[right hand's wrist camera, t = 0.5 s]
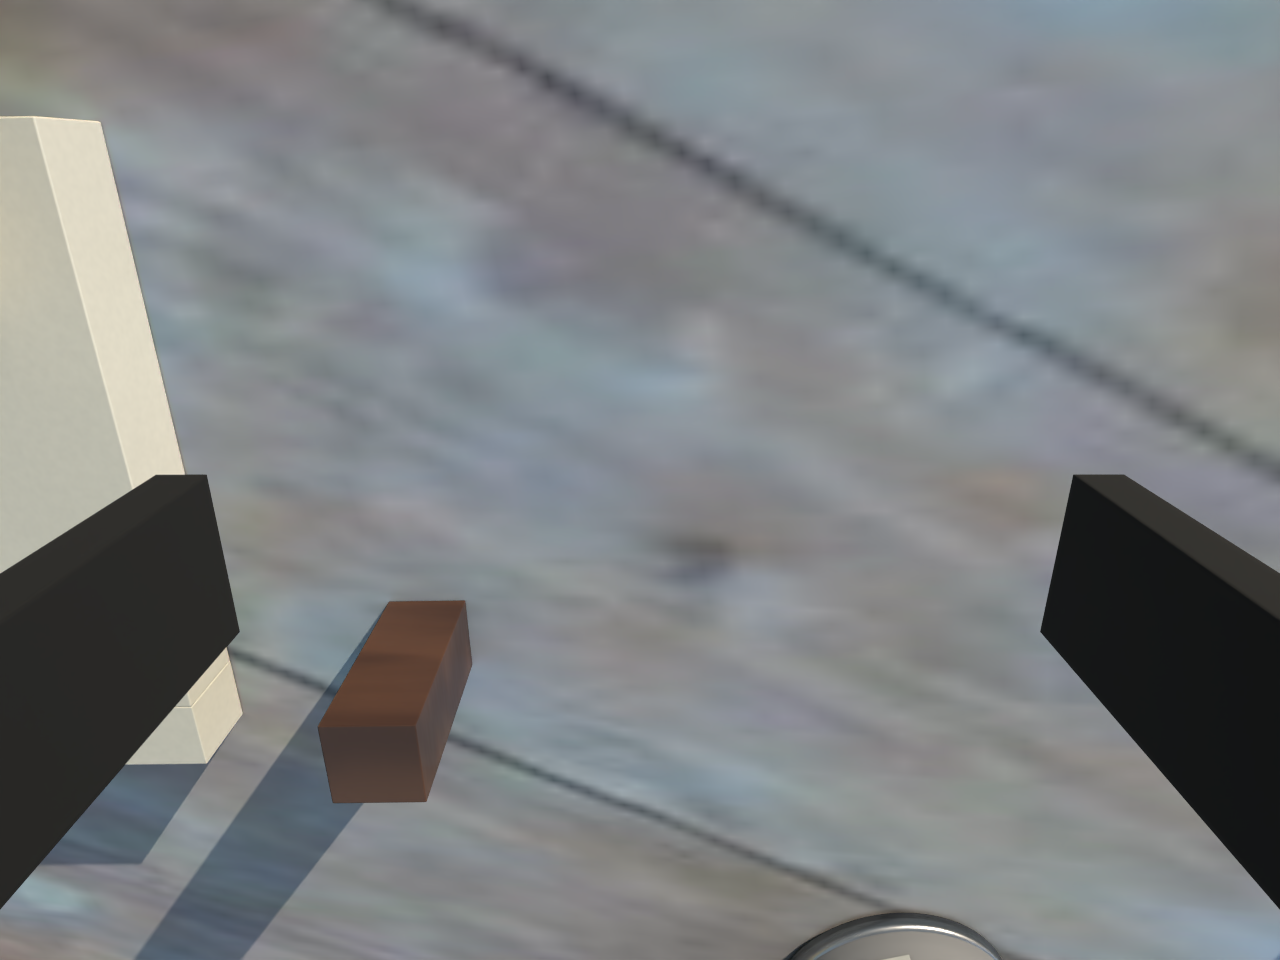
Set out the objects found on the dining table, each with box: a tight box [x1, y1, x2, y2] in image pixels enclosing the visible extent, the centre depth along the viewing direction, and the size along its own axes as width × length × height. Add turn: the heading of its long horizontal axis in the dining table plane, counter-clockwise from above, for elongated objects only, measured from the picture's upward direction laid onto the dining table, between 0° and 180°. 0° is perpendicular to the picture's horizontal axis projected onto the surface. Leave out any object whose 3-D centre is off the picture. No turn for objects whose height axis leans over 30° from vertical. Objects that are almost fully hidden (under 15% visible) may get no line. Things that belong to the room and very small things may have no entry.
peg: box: [318, 601, 472, 803], centre depth 38 cm, size 4×4×10 cm
